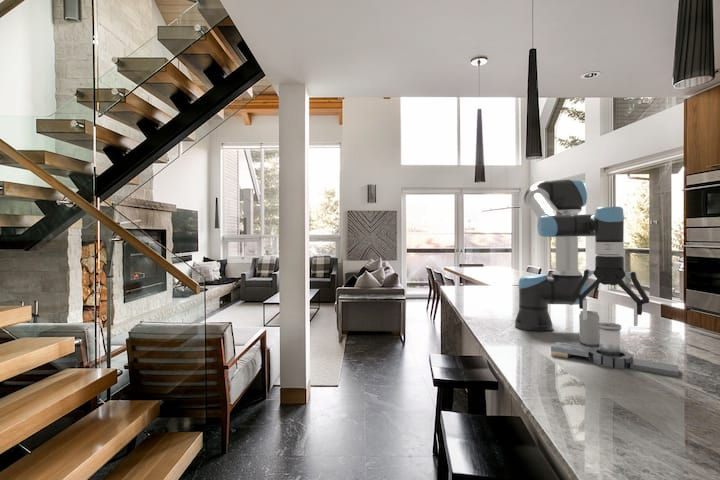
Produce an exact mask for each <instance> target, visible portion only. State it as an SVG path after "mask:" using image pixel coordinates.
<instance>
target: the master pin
mask: <svg viewBox="0 0 720 480" xmlns="http://www.w3.org/2000/svg"><path fill="white" fill-rule="evenodd" d="M598 327H599V344H598V346H599V347H598V348H599V354H602V355H606V356H612V357H621V355H620V350H621V330H622V325H621V324H619V323H613V322H599V323H598Z"/></svg>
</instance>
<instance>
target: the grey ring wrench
mask: <svg viewBox="0 0 720 480" xmlns="http://www.w3.org/2000/svg"><path fill="white" fill-rule="evenodd" d="M571 355H574V356H580V357H586V358H588V361H589V360H590V361H592V362H593V363H592V362H591V363H592V364H594V363H596V364H595V365H597V364H599V365H598V366H600V365H603V366H606V367H605V368H609V367H612V368H611V369H617V368H624V369H625V368H627V369H630V370H633V369H635V370H634V371H639V370H641V371H640V372H645V371H646V372H647V373H650V374H651V373H652V374H655V375H656V374H658V375H662V376H668V377H675V378H679V365H678V364H673V363H672V364H671V363H665V362H659V361H651V360H646V359H639V358H634V354H632V353H631V352H628V351H625V350H622V349H620V355H621V357H612V356H606V355H602V354H599V347H593V346H587V345H584V346H583V345H577V344H572V343H565V342H560V341H559V342H558V341H556V342H554V344H552V345H551V346H550V356H553V357H558V358H565V359H568V358H570V356H571ZM590 361H589V362H590ZM603 366H602V367H603ZM630 367H631V368H630Z"/></svg>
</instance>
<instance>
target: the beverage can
mask: <svg viewBox="0 0 720 480" xmlns="http://www.w3.org/2000/svg"><path fill="white" fill-rule="evenodd" d="M578 318H579V342H580V343H581V344H582V343H583V344H582V345H584V344H586V345H585V346H589V345H596V346H599V327H598V323H600V315H599V312H598V311H593V310H587V319H586V320H583V310H581V311H580V313H579V317H578Z"/></svg>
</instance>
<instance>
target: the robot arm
mask: <svg viewBox="0 0 720 480" xmlns="http://www.w3.org/2000/svg"><path fill="white" fill-rule="evenodd" d="M587 199H588V192H587V189H586V185H585V184H584V183H583V181H582V180H580V179H558V180H557V179H556V180H542V181H538V182H536V183H534V184H532V185H531V186H529V187H528V188H527V190H525V193H524V197H523V201H524V203H525V205H526V207H527V209H529V210H530V211H531V210H532V211H533V213H534V214H535V216H536V217H537V232H538V235H539V236H540V237H541V238H542V237H544V238H545V237H546V238H555V270H553V272H552V273H551V277H549V276H548V275H547V274H544V273H540V274H539V273H538V274H537V273H536V274H527V275H523V276H521V277H519V280H518V287H517V288H518V311H517V315H516V318H515V321H514V327H516V329H517V328H518V329H520V330H525V331H530V332H531V331H533V332H547V331H548V332H549V331H552V330H553V329H554V327H553V321H552V318H551V315H550V313H549V309H548V308H549V307H548V306H549V305H569V306H573V305H578V307H579V310H582V311H583V320H586V319H587V311H588V298H587V297H588V295H589V294H590V293H591V292H592V291H593V290H594V289H595V288H596V287H597V286H598V285H599V284H602V285H605V286H607V285H610V286H617V285H618V286H619V287H620V288H622V290H624V292H625V293H626V294H627V295H628V296H629V297H630V298H631V299H632V300H633V301H634V302H635V303H634V304H633V326H634V327H638V323H639V321H638V320H639V318H638V316H642V313H643V305H644V304H649V302H650V298H649V297H648V295H647V293H646V291H645V289H644V288H643V286H642V285H641V282H640V281H639V280H638V276H637V272H636V271H635V270H633V271H627V272H626V271H625V270H624V269H625V267H624V265H625V264H624V262H625V258H624V257H623V256H622V255H625V254H624V253H625V252H624V249H625V248H624V247H625V246H624V243H625V242H624V233H625V232H624V227H625V226H624V224H625V222H624V221H625V216H624V209H623V207H621V206H599V207H596V209H595V210H594V211H595V212H594V213H593V214H580V213H581V212H582V210H583V208H582V207H585V206H586V205H587ZM579 237H595V240H594V241H595V243H594V244H595V251H594V253H595V254H596V256H595V257H594V260H595V261H594V262H595V264H594V266H595V269H594V270H591V269H584V270H583V273H582V272H581V271H580V270H579V241H578V240H579ZM591 276H594V277H595V278H596V280H595V281H593V283H592V284H591V285H588V279H589V277H591ZM625 277H627V278H628V279H630V280H631V282H632V283H633V285H634V287H635V289H636V291H637V292H638V294H639V296H640V297H641V298H640V297H639V296H638V295H637V294H636V293H635V291H633V290H632V288H630V287H629V286H628V285H627V284H626V282H625V281H624V280H623V279H624V278H625Z"/></svg>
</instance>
